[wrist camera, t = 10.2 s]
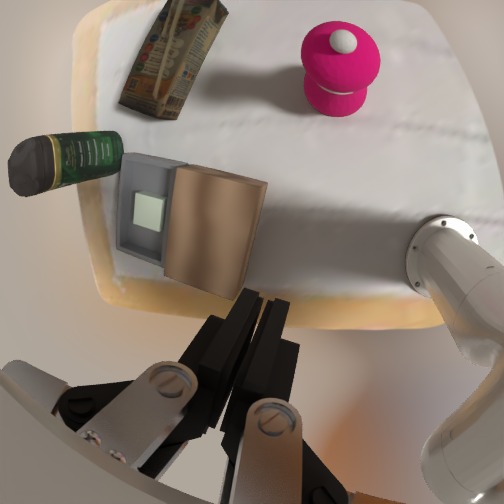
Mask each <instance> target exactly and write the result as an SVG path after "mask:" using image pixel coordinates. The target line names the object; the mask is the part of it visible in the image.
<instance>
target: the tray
mask: <svg viewBox="0 0 504 504" xmlns="http://www.w3.org/2000/svg"><path fill="white" fill-rule="evenodd" d="M187 165H188V163H185V162H180V161H175V160H170V159H165V158H160V157H155V156H150V155H145V154H139V153H127V154H123V155H122V163H121V172H120V182H119V194H118V209H117V230H116V249H117V250H120V251H122V252H125V253H127V254H130V255H132V256H135V257H137V258H140V259H142V260H145V261H148V262H150V263H153V264H155V265H158V266H161V267H163V268H165V258H166V247H167V238H168V229H169V221H170V213H171V205H172V198H173V191H174V184H175V178H176V172H177V168H178V167H183V166H187ZM140 191H147V192H151V193H155V194H158V195H162V196H166V197H168V200H167V208H166V216H165V225H164V229H163V230H162V231H160V232H158V231H155V230H152V229H149V228H146V227H143V226H140V225H137V224H133V220H134V207H135V195H136V193H137V192H140Z"/></svg>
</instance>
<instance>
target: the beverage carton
mask: <svg viewBox="0 0 504 504" xmlns="http://www.w3.org/2000/svg"><path fill="white" fill-rule="evenodd" d="M228 14H229V12H228V11H227V9H226V8H225V6H224V5H223V4H222V3H221V2H220V1H219V0H168V1H167V2H166V4H165V5H164V7H163V9H162V11H161V12H160V14H159V15H158V17H157V19H156V21H155V23H154V24H153V26H152V28H151V30H150V32H149V34H148V36H147V37H146V39H145V41H144V43H143V45H142V47H141V49H140V51H139V54H138V56H137V58H136V60H135V62H134V64H133V67H132V69H131V72H130V74H129V76H128V79H127V81H126V84H125V86H124V89H123V91H122V94H121V97H120V100H119V102H118V103H119V104H121V105H123V106H125V107H128V108H130V109H132V110H135V111H138V112H140V113H143V114H146V115H149V116H152V117H155V118H160V119H168V120H177V118H178V116H179V113H180V111H181V109H182V107H183V105H184V102H185V100H186V98H187V96H188V93H189V91H190V89H191V87H192V85H193V82H194V80H195V78H196V76H197V74H198V72H199V70H200V67H201V65H202V63H203V61H204V59H205V57H206V55H207V53H208V51H209V49H210V47H211V45H212V44H213V42H214V40H215V38H216V36H217V34H218V32H219V30H220V28H221V26H222V24H223V22H224V21H225V19H226V17H227V15H228Z"/></svg>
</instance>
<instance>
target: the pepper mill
mask: <svg viewBox="0 0 504 504" xmlns="http://www.w3.org/2000/svg"><path fill="white" fill-rule="evenodd" d="M301 59H302V63H303V66H304V68H305V70H306V75H305V78H304V91H305V95H306V97H307V99H308V101H309V102H310V104H311V105H312V106H313V107H314V108H315V109H317V110H318V111H319V112H321V113H323V114H325V115H328V116H333V117H344V116H348V115H351V114H353V113H355V112H356V111H357V110H359V109H360V107H361V106H362V105H363V103H364V101H365V98H366V94H367V86H369V85H370V84H371V83H372V82H373V80H374V79H375V78H376V77H377V74H378V72H379V68H380V54H379V50H378V48H377V46H376V44H375V42H374V40H373V39H372V38H371V36H370V35H368V34H367V33H366V32H365V31H364V30H363V29H361V28H360V27H358V26H355V25H353V24H351V23H347V22H341V21H331V22H326V23H323V24H320V25H318V26H316V27H314V28H313V29H312V30H311V31H309V33H308V34H307V35H306V37H305V38H304V40H303V43H302V48H301Z"/></svg>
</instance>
